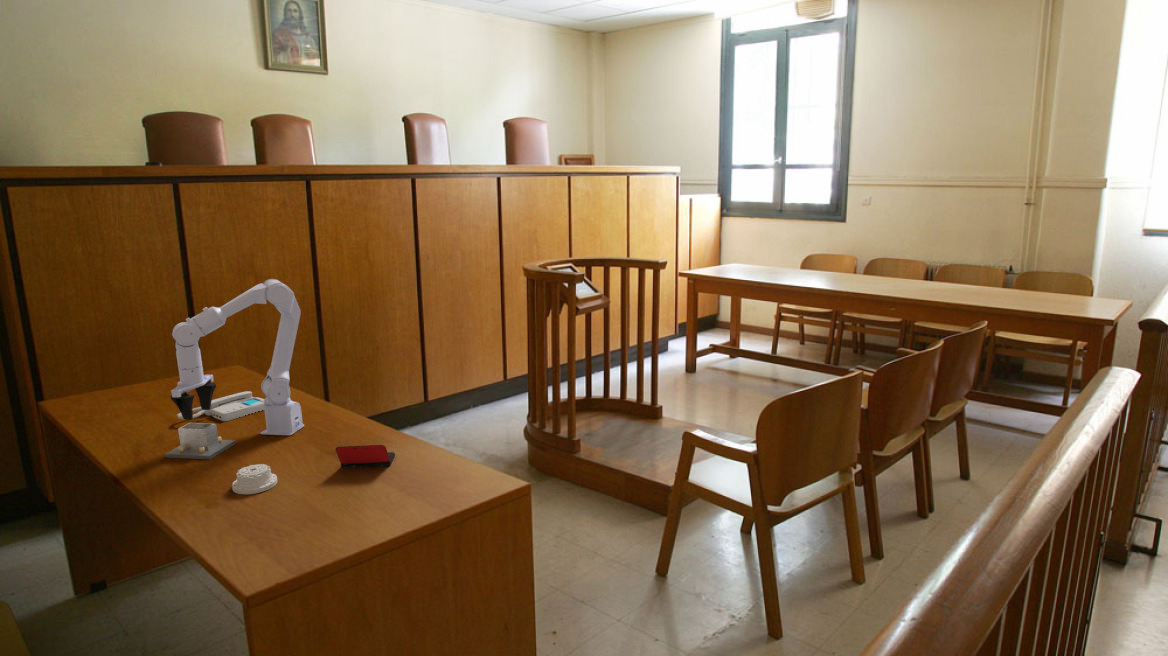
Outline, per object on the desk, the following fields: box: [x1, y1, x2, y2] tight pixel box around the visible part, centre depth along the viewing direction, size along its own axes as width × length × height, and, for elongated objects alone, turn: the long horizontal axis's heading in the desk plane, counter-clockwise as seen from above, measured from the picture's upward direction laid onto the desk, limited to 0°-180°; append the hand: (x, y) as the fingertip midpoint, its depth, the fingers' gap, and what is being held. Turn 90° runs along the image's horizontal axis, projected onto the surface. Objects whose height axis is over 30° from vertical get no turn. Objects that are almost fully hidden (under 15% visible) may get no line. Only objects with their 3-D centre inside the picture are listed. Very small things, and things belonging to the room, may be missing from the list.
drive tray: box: [164, 436, 236, 460], centre depth 196 cm, size 13×11×2 cm
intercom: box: [176, 390, 265, 422], centre depth 224 cm, size 13×4×25 cm
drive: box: [177, 422, 219, 451], centre depth 196 cm, size 8×5×6 cm, turn 82°
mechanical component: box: [231, 463, 278, 495], centre depth 174 cm, size 10×4×10 cm
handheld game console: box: [335, 444, 396, 469], centre depth 185 cm, size 12×11×7 cm
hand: (197, 414), depth 197 cm, fingers open, 7 cm apart
